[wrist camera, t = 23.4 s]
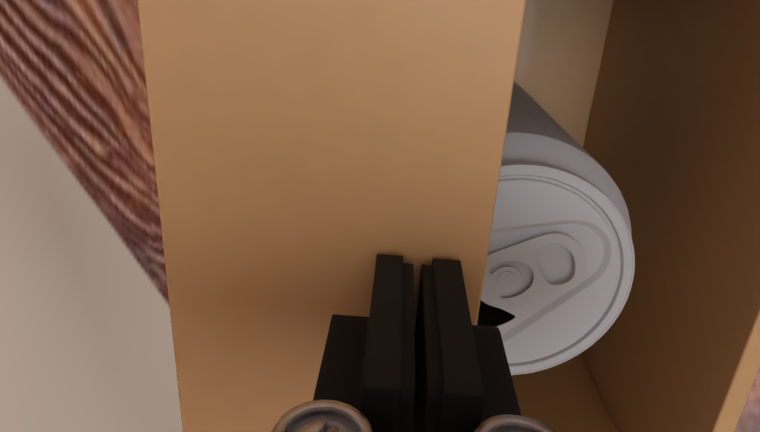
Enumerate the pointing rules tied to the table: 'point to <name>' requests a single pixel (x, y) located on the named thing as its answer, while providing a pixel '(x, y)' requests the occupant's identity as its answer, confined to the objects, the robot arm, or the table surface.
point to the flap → (313, 174)
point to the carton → (660, 205)
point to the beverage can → (553, 244)
